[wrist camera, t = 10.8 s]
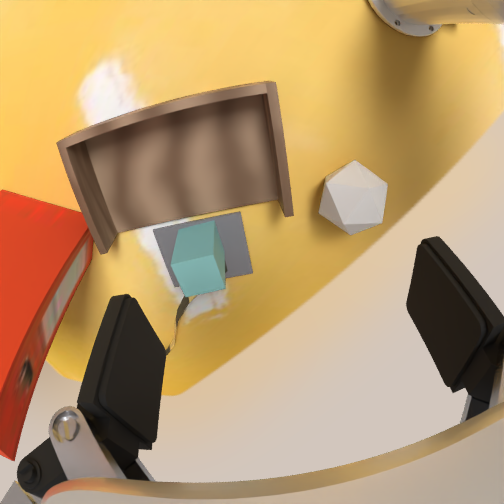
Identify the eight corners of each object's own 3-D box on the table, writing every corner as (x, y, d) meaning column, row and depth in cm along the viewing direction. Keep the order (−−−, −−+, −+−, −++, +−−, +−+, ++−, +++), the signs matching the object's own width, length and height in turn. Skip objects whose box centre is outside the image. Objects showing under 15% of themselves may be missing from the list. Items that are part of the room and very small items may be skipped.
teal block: (214, 220, 39) (213, 254, 33) (224, 251, 42) (225, 288, 36) (178, 229, 40) (170, 264, 33) (190, 259, 42) (185, 297, 36)
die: (305, 212, 41) (356, 259, 37) (299, 173, 34) (362, 226, 29) (346, 179, 42) (396, 220, 38) (346, 137, 34) (408, 182, 30)
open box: (267, 80, 31) (275, 82, 26) (284, 196, 39) (293, 215, 34) (76, 131, 31) (56, 142, 26) (112, 232, 39) (100, 254, 35)
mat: (240, 211, 40) (240, 212, 39) (252, 271, 45) (252, 273, 45) (153, 229, 40) (153, 230, 39) (175, 285, 45) (174, 287, 45)
